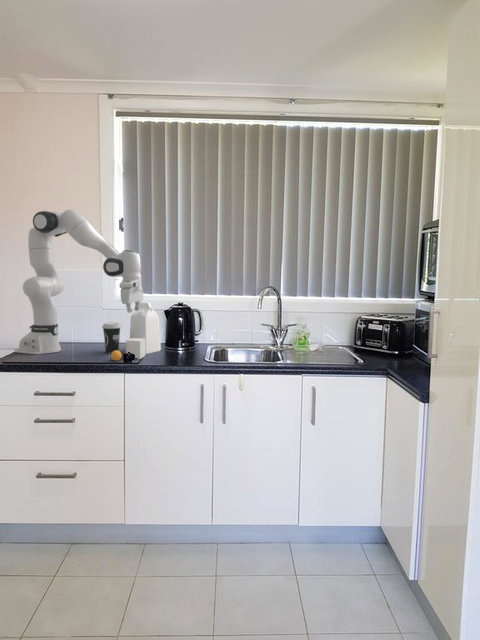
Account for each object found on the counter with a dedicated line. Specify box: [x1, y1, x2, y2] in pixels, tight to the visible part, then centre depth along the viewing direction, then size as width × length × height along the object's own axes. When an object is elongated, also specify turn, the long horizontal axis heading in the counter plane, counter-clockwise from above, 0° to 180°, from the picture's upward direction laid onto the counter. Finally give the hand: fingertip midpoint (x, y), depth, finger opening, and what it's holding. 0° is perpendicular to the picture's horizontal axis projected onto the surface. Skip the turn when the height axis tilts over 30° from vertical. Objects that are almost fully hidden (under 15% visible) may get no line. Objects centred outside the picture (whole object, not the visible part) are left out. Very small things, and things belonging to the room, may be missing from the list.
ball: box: [110, 350, 122, 362], centre depth 219 cm, size 5×5×5 cm
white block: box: [125, 338, 147, 360], centre depth 228 cm, size 7×7×9 cm
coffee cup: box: [101, 321, 122, 354], centre depth 240 cm, size 10×10×15 cm
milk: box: [129, 301, 162, 355], centre depth 243 cm, size 12×12×26 cm
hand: (133, 311), depth 226 cm, fingers open, 8 cm apart
